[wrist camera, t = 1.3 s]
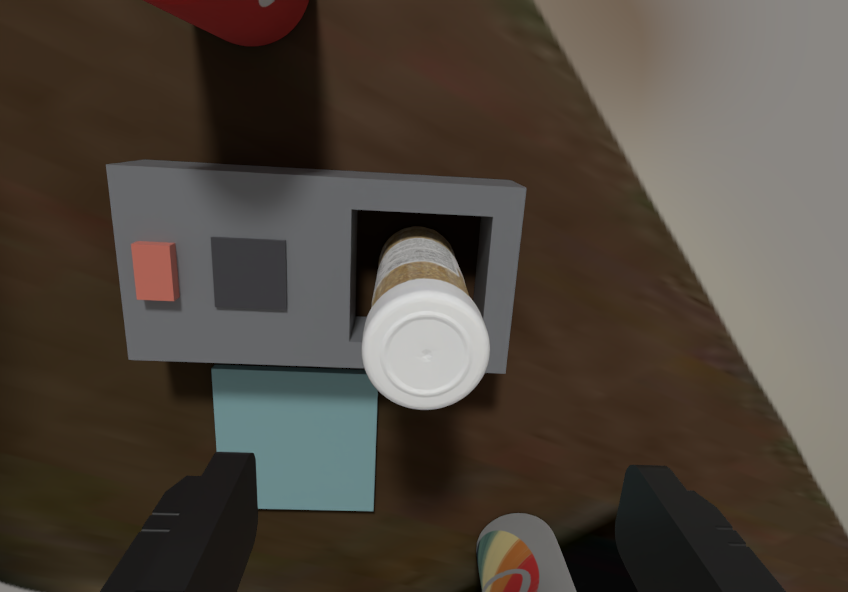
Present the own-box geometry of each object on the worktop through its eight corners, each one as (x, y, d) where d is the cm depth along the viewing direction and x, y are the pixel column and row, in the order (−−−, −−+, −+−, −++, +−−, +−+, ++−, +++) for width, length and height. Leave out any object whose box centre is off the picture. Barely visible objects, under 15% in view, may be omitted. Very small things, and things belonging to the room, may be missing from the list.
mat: (223, 501, 36) (220, 507, 35) (214, 364, 33) (211, 368, 32) (373, 505, 36) (373, 511, 36) (378, 370, 33) (378, 374, 33)
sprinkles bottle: (441, 308, 32) (467, 428, 19) (368, 287, 32) (344, 396, 19) (466, 236, 31) (511, 314, 18) (390, 213, 30) (380, 276, 18)
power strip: (161, 332, 32) (121, 365, 27) (145, 159, 29) (97, 165, 24) (493, 345, 33) (507, 379, 28) (510, 180, 30) (529, 189, 26)
